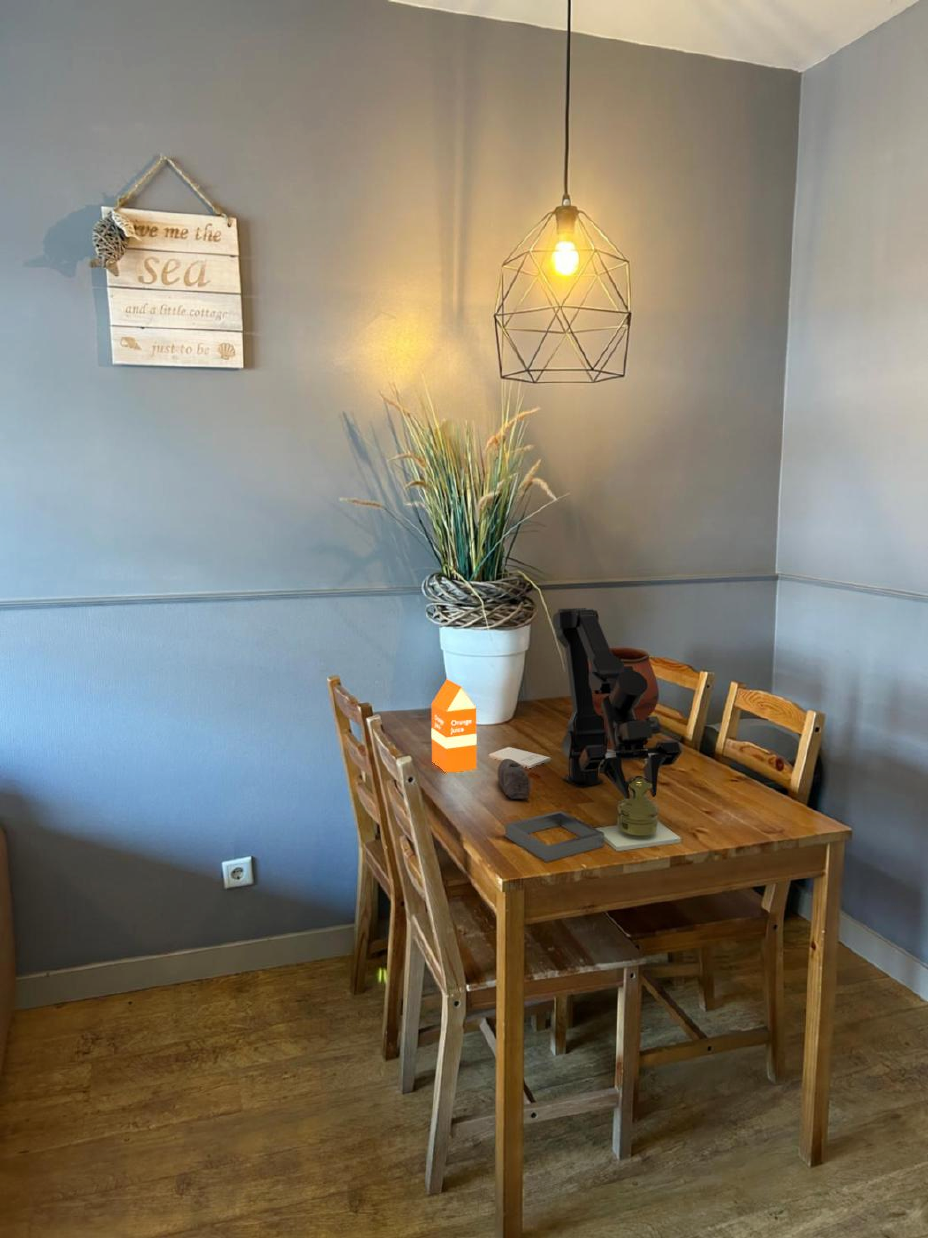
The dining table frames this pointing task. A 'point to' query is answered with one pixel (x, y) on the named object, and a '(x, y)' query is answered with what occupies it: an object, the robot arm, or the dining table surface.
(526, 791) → the perforated stone tool
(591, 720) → the robot arm
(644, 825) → the brass rounded piece
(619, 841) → the tile
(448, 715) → the orange juice
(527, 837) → the grey square frame
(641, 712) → the goblet
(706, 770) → the dining table surface
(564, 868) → the dining table surface
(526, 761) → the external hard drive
